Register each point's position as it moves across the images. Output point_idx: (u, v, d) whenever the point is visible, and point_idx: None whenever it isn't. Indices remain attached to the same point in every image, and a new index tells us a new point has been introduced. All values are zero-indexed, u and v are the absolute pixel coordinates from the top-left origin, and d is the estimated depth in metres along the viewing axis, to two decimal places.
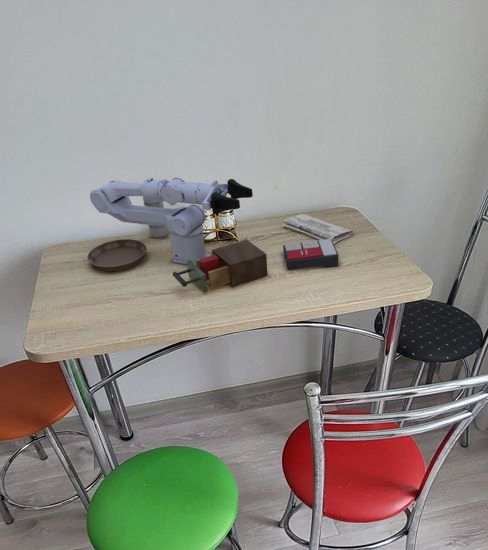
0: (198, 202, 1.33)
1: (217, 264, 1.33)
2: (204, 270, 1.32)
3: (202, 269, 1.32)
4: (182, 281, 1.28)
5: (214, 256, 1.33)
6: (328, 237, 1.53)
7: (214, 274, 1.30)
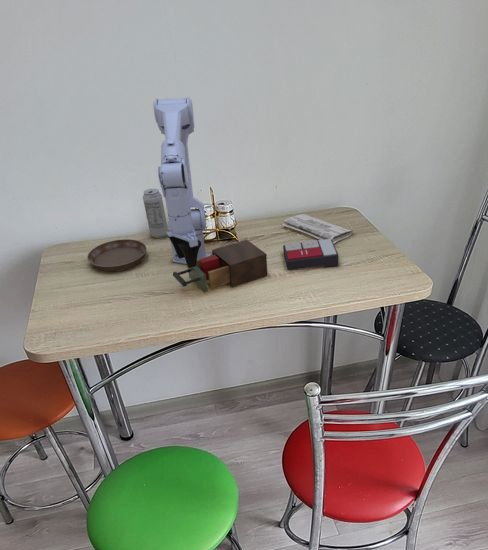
0: None
1: (217, 264, 1.33)
2: (204, 270, 1.32)
3: (202, 269, 1.32)
4: (182, 281, 1.28)
5: (214, 256, 1.33)
6: (328, 237, 1.53)
7: (214, 274, 1.30)
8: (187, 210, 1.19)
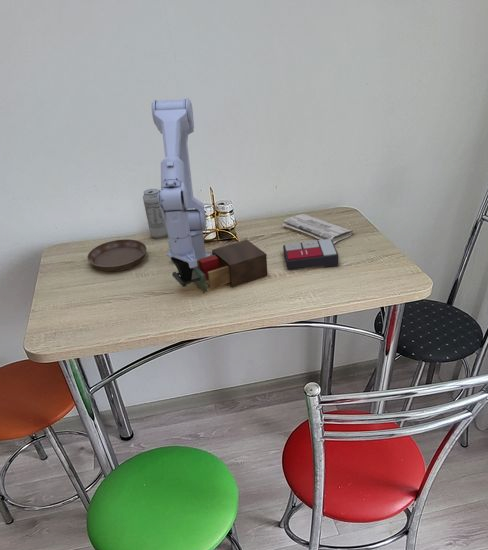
0: None
1: (217, 264, 1.33)
2: (204, 270, 1.32)
3: (202, 269, 1.32)
4: (182, 281, 1.28)
5: (214, 256, 1.33)
6: (328, 237, 1.53)
7: (214, 275, 1.30)
8: (186, 232, 1.22)
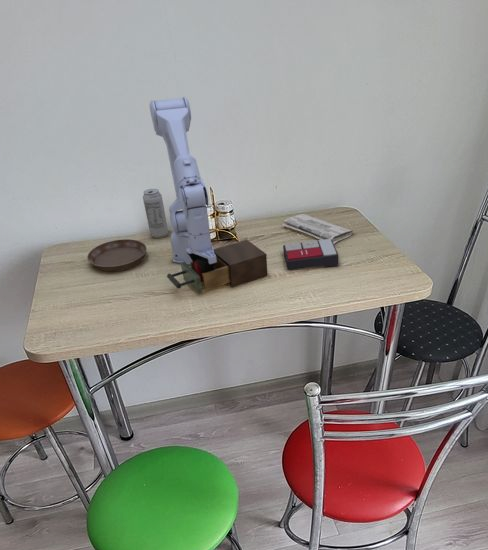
0: None
1: None
2: (198, 272, 1.31)
3: (196, 271, 1.32)
4: (176, 283, 1.27)
5: None
6: (328, 237, 1.53)
7: (209, 276, 1.30)
8: (208, 227, 1.25)
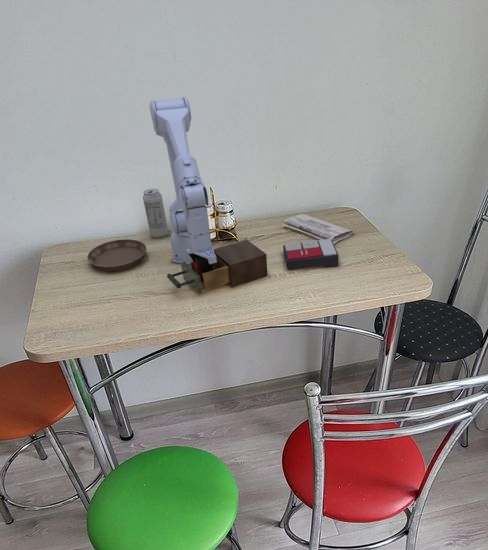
0: None
1: None
2: (198, 272, 1.31)
3: (196, 271, 1.32)
4: (176, 283, 1.27)
5: None
6: (328, 237, 1.53)
7: (209, 276, 1.30)
8: (208, 228, 1.25)
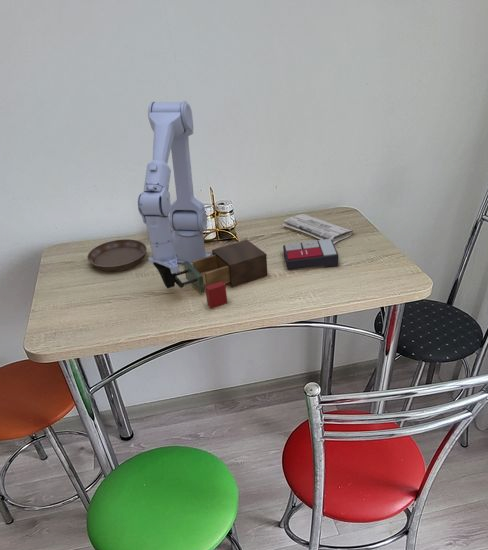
0: None
1: (224, 291, 1.25)
2: (210, 298, 1.24)
3: (208, 296, 1.24)
4: (179, 282, 1.28)
5: (221, 282, 1.25)
6: (328, 237, 1.53)
7: (211, 275, 1.30)
8: (166, 238, 1.19)
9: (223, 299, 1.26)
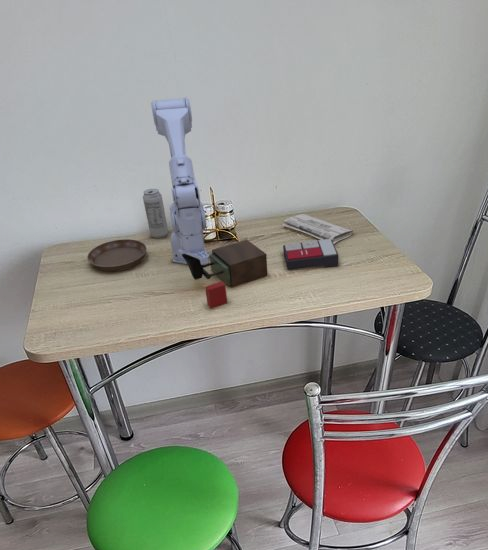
0: None
1: (224, 291, 1.25)
2: (210, 298, 1.24)
3: (208, 296, 1.24)
4: (206, 274, 1.31)
5: (221, 282, 1.25)
6: (328, 237, 1.53)
7: None
8: (199, 228, 1.23)
9: (223, 299, 1.26)
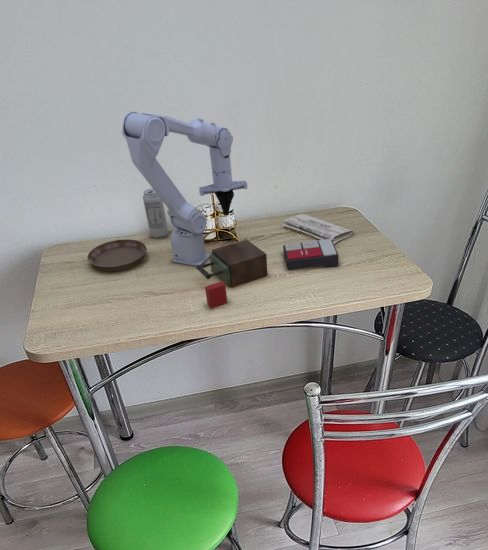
0: None
1: (224, 291, 1.25)
2: (210, 298, 1.24)
3: (208, 296, 1.24)
4: (206, 274, 1.31)
5: (221, 282, 1.25)
6: (329, 237, 1.53)
7: None
8: None
9: (223, 299, 1.26)
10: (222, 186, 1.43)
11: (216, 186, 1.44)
